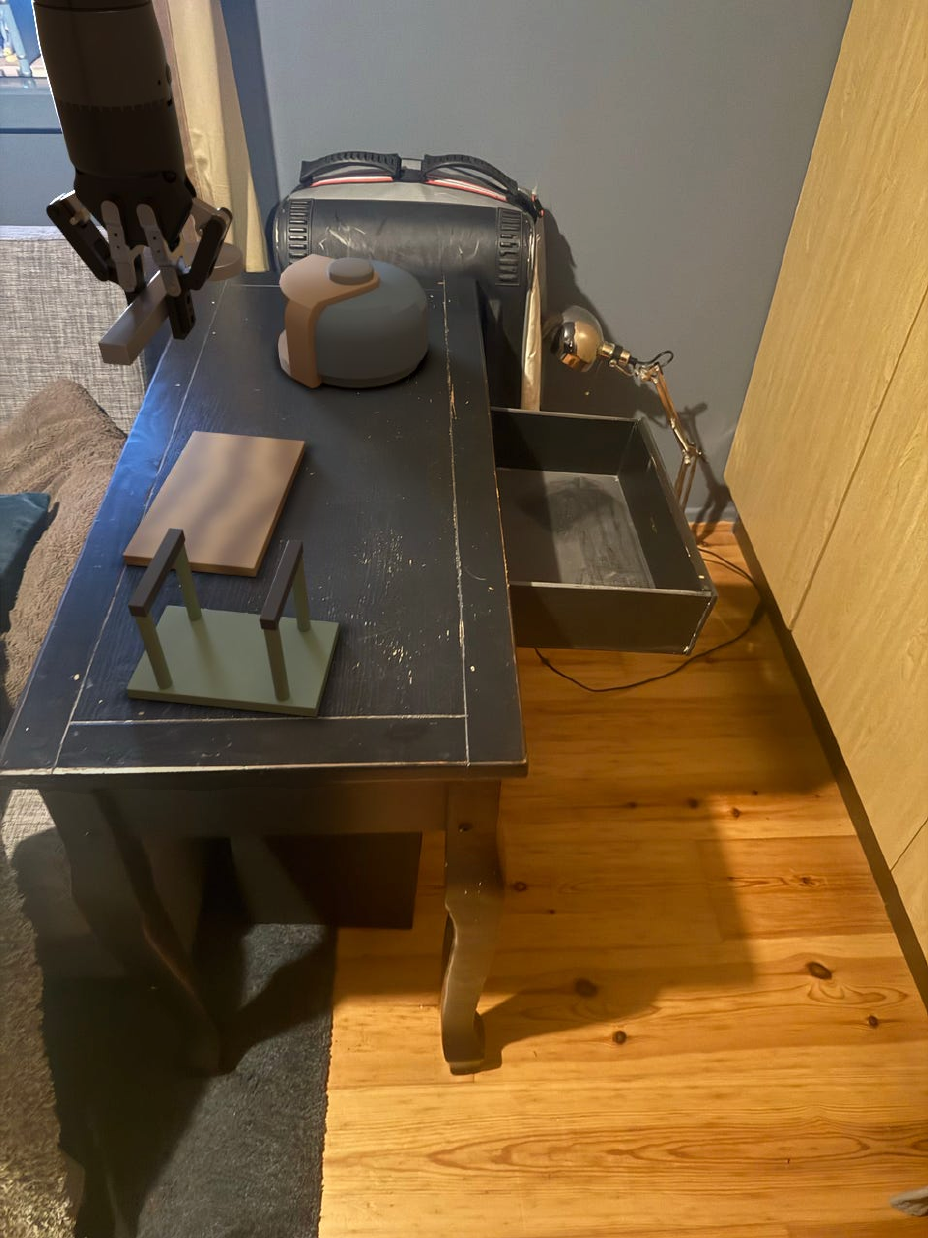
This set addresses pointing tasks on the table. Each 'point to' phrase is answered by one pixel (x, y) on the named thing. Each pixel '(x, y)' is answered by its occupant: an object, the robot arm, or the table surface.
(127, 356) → the ladle
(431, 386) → the table surface
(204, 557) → the board
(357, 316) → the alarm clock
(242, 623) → the rack
